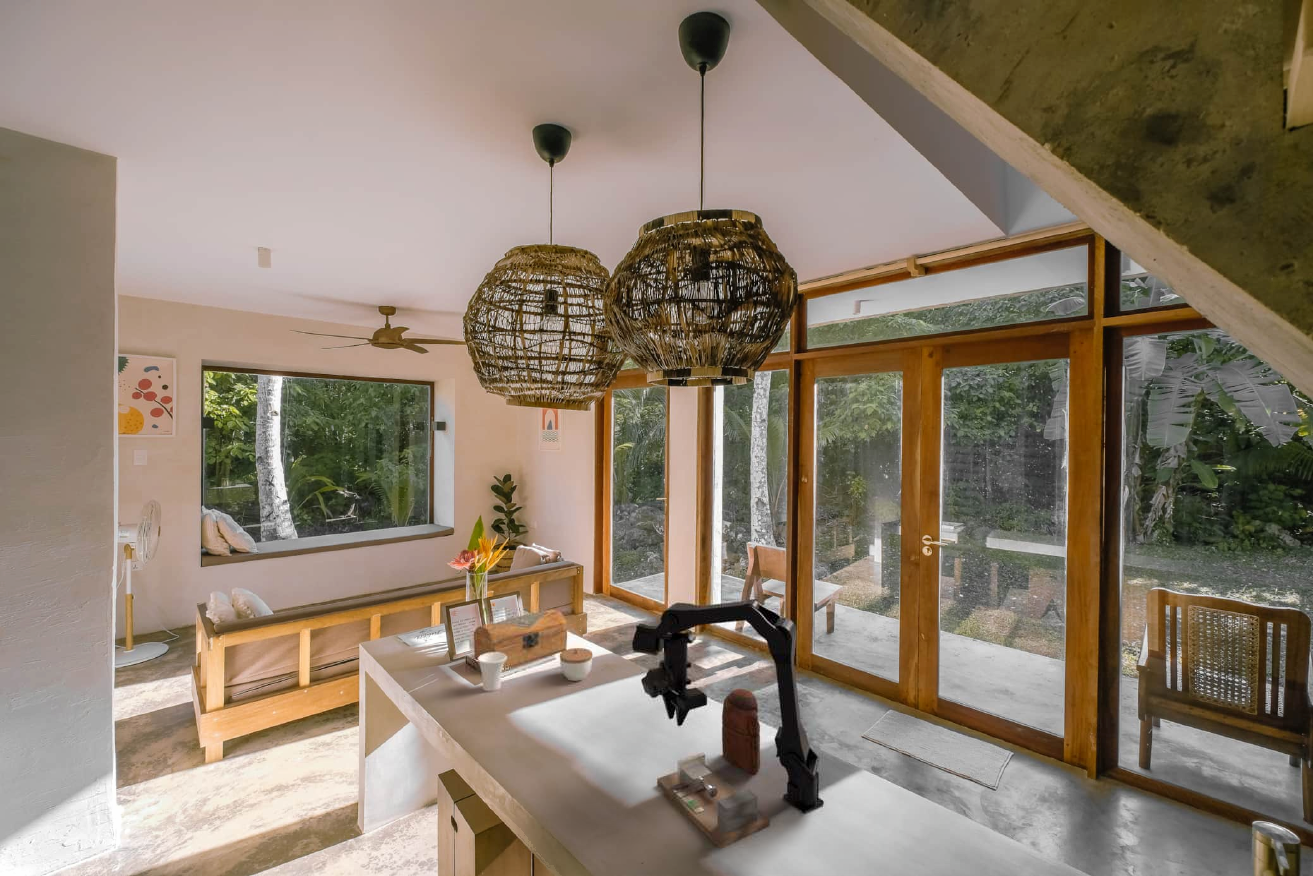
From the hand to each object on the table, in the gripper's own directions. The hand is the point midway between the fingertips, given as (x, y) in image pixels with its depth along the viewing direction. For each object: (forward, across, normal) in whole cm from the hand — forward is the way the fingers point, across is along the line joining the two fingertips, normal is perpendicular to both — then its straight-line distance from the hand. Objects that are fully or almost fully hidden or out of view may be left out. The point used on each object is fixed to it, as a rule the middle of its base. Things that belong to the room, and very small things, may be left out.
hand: (675, 722), depth 143 cm
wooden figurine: (+12, +5, +16) cm, 21 cm away
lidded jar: (+12, -62, 0) cm, 63 cm away
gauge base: (+12, +14, 0) cm, 19 cm away
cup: (+12, -68, -26) cm, 74 cm away
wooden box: (+13, -89, -9) cm, 90 cm away
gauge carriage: (+10, +11, -1) cm, 15 cm away
